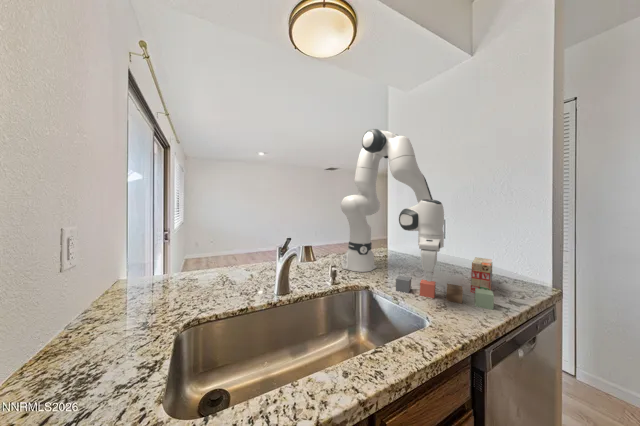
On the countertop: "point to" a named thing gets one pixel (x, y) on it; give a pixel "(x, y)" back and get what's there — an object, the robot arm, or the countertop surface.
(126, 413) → the countertop surface
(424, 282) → the red cube
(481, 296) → the sage cube
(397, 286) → the charcoal cube
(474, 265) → the cardboard box
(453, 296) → the walnut cube
